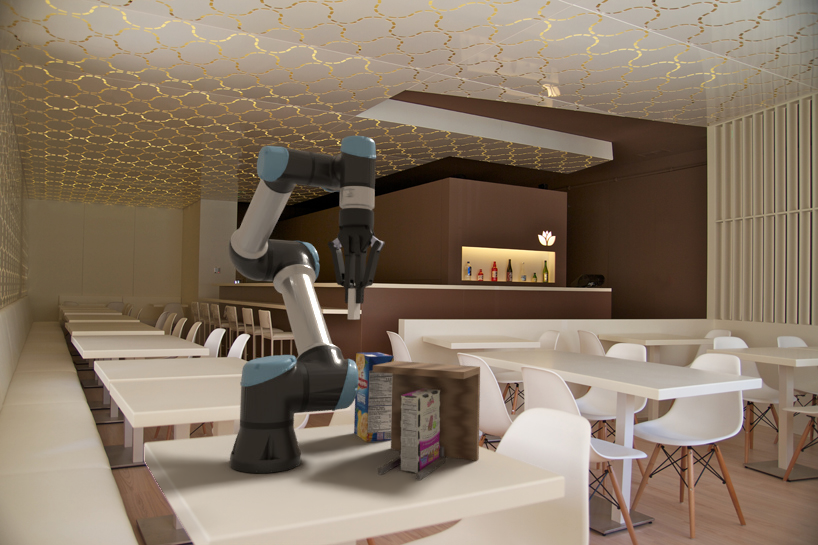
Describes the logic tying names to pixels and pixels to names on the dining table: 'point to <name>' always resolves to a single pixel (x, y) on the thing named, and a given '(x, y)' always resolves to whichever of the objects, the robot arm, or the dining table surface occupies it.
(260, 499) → the dining table surface
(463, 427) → the overhang shelf
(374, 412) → the blue cardboard box
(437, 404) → the candy bar box
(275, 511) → the dining table surface
